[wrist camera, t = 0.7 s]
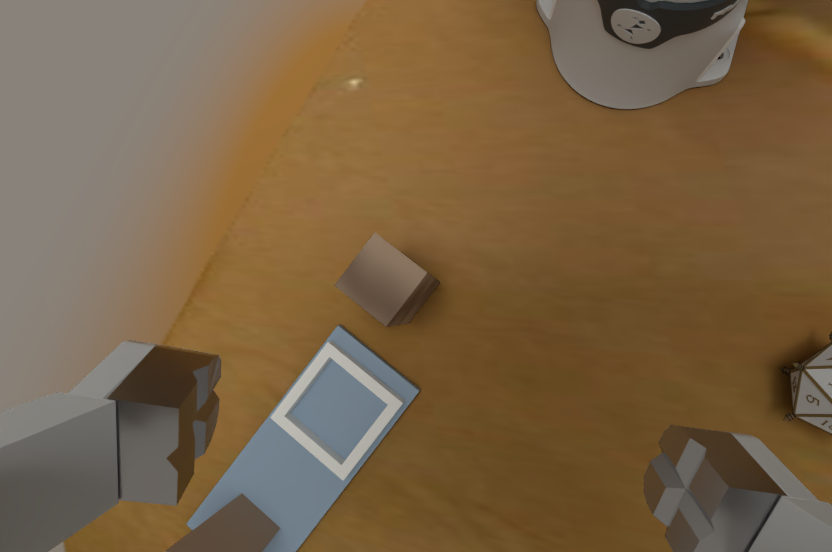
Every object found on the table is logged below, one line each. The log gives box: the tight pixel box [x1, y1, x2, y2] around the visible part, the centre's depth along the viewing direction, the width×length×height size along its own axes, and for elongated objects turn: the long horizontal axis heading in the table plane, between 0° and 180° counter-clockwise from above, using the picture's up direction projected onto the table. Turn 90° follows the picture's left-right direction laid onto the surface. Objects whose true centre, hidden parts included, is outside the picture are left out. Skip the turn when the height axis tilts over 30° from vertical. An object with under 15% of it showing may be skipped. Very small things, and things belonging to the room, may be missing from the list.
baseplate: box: [165, 325, 420, 552], centre depth 43 cm, size 24×10×13 cm, turn 142°
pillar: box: [334, 233, 440, 327], centre depth 44 cm, size 5×5×12 cm
